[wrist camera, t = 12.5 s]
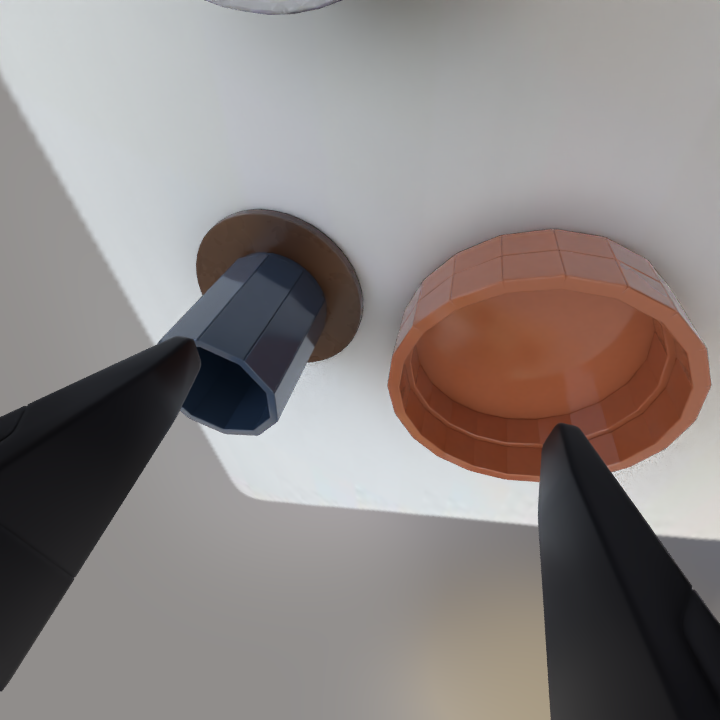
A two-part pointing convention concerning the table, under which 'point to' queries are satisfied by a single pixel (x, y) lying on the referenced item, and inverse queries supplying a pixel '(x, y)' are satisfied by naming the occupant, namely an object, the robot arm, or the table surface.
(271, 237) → the coaster
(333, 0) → the teacup
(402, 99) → the table surface
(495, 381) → the bowl
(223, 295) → the cup
